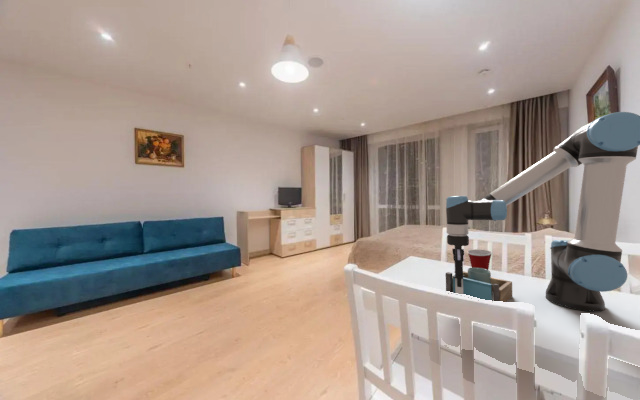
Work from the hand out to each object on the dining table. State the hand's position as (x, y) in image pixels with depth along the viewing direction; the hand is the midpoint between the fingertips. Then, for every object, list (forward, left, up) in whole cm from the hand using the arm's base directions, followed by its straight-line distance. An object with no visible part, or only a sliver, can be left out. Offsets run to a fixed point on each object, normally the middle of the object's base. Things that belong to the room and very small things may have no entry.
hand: (459, 294), depth 96 cm
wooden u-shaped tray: (-3, -10, -2) cm, 11 cm away
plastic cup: (+6, -36, -2) cm, 37 cm away
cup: (-3, -10, -2) cm, 11 cm away
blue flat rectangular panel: (-3, -3, -2) cm, 5 cm away
